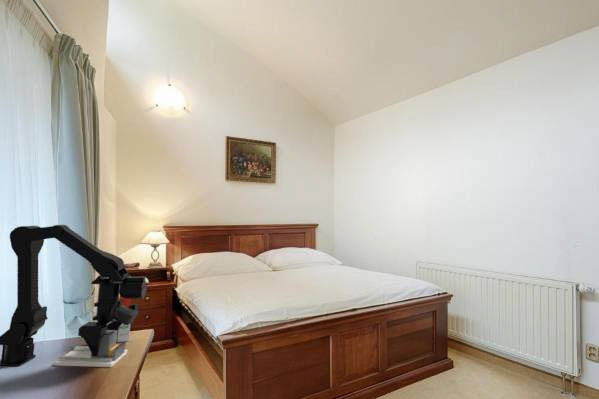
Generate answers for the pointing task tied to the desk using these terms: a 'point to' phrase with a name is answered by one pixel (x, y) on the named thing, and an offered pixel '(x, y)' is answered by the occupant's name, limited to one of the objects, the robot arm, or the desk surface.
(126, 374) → the desk surface
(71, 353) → the rail plate
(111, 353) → the bar
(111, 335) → the block
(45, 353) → the desk surface
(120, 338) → the ink box
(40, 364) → the desk surface
